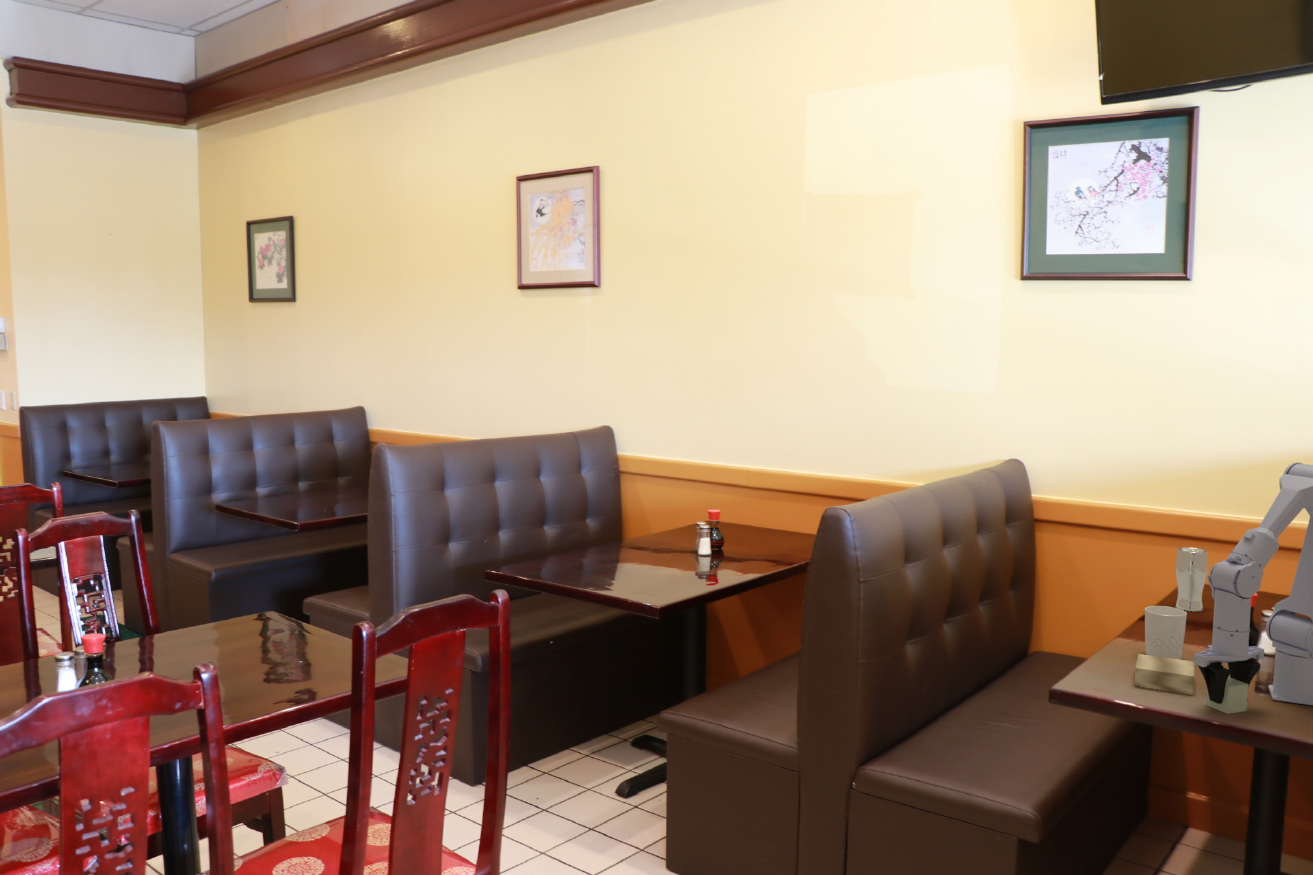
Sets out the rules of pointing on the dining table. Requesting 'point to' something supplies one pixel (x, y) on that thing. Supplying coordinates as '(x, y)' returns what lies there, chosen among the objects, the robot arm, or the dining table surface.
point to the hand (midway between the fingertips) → (1226, 700)
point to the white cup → (1164, 631)
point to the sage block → (1232, 697)
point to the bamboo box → (1165, 674)
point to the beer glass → (1190, 578)
